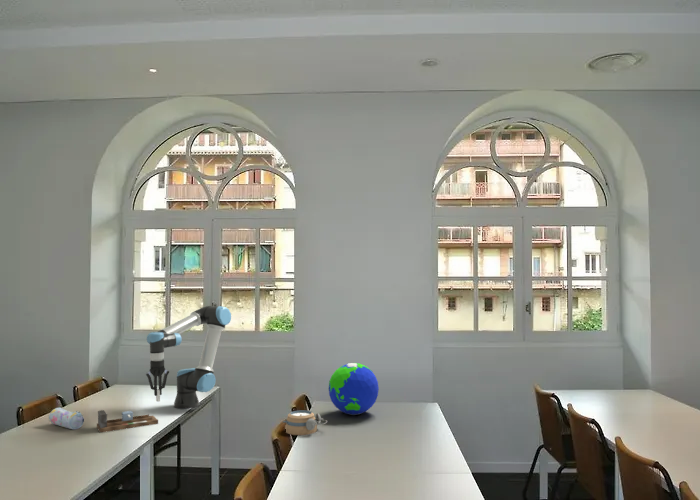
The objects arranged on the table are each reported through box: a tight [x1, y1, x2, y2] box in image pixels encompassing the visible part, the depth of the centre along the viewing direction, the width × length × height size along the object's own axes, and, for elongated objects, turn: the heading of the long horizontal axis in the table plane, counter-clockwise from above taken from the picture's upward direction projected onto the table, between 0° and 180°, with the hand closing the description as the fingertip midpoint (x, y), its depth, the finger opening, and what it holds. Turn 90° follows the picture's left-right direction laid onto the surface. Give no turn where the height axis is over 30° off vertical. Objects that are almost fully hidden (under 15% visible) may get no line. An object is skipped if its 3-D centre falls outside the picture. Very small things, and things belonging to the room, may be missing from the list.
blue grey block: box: [121, 410, 134, 421], centre depth 310 cm, size 5×9×5 cm, turn 32°
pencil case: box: [48, 407, 85, 430], centre depth 311 cm, size 21×9×10 cm, turn 60°
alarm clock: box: [282, 409, 328, 436], centre depth 299 cm, size 17×9×23 cm
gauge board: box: [96, 409, 159, 433], centre depth 312 cm, size 30×12×9 cm, turn 122°
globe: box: [328, 362, 379, 416], centre depth 332 cm, size 30×30×30 cm
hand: (158, 401), depth 321 cm, fingers closed
